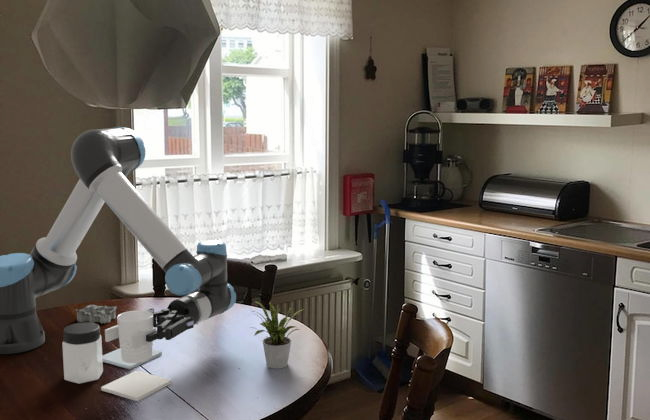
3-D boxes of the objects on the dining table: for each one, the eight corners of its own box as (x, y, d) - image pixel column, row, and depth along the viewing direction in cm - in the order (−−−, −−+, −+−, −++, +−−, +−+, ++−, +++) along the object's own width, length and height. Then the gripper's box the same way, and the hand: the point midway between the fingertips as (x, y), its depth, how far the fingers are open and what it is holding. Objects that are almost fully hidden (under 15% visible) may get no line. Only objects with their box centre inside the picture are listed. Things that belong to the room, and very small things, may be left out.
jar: (68, 386, 160) (66, 336, 158) (60, 374, 166) (57, 326, 164) (108, 378, 165) (105, 329, 162) (98, 366, 171) (96, 319, 169)
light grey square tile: (98, 360, 175) (98, 357, 175) (130, 346, 184) (130, 343, 184) (130, 369, 170) (130, 366, 170) (161, 354, 179) (161, 351, 179)
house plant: (231, 366, 172) (230, 302, 170) (268, 349, 183) (267, 289, 181) (275, 380, 164) (275, 313, 161) (311, 362, 175) (311, 299, 172)
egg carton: (73, 322, 204) (72, 309, 203) (87, 314, 211) (86, 301, 210) (106, 325, 201) (105, 311, 201) (119, 317, 209) (119, 304, 208)
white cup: (141, 348, 164) (139, 308, 162) (162, 357, 159) (160, 315, 157) (111, 358, 158) (109, 316, 156) (132, 367, 153) (130, 324, 151)
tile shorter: (101, 390, 158) (101, 386, 158) (136, 373, 167) (136, 370, 167) (137, 401, 153) (136, 397, 152) (171, 383, 162) (171, 380, 162)
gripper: (221, 332, 169) (155, 364, 149) (158, 318, 179) (87, 346, 159) (221, 302, 167) (153, 330, 148) (156, 290, 177) (86, 315, 158)
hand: (119, 339), depth 153 cm, fingers closed on white cup, 8 cm apart
